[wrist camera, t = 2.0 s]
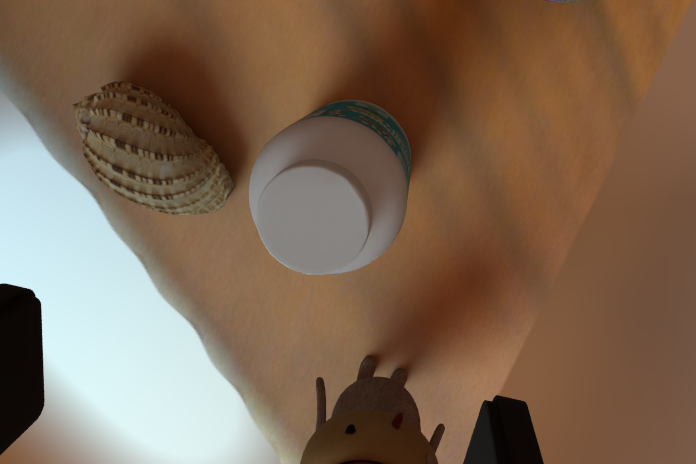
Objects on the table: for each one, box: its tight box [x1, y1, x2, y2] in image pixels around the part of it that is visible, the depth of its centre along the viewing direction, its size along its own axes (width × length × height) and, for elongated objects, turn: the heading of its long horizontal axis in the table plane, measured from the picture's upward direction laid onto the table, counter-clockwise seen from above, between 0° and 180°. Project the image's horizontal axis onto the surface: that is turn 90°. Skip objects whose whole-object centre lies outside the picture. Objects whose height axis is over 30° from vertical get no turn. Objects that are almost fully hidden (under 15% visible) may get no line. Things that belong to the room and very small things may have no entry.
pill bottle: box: [249, 99, 412, 275], centre depth 28 cm, size 8×7×14 cm
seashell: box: [73, 82, 235, 215], centre depth 34 cm, size 8×6×10 cm
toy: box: [300, 357, 445, 464], centre depth 32 cm, size 9×9×15 cm
